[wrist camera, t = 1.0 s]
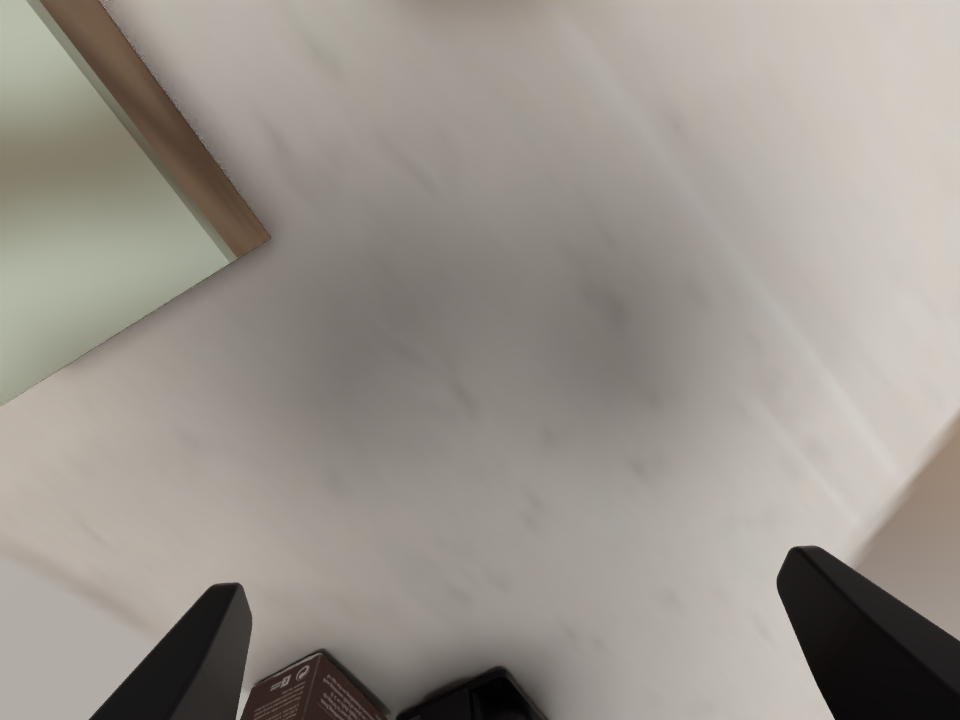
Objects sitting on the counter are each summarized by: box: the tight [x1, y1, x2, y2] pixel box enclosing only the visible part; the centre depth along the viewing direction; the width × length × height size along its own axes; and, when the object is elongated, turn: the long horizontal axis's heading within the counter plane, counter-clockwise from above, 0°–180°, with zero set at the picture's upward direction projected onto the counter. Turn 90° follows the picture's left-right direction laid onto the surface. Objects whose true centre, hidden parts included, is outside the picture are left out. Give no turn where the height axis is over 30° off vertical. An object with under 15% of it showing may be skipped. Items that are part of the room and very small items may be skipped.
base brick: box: [0, 0, 271, 406], centre depth 15 cm, size 9×9×4 cm
